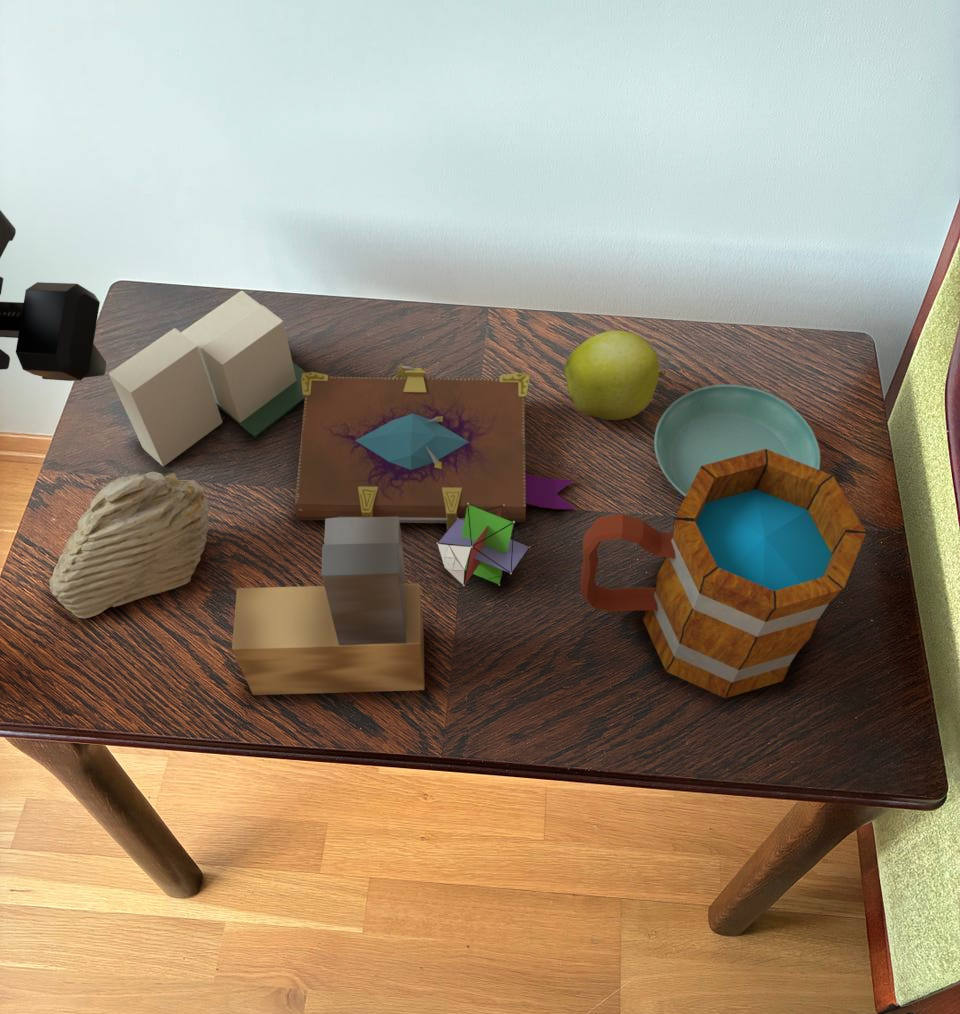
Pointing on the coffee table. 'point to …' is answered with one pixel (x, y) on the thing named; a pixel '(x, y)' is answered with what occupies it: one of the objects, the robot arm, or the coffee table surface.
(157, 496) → the fossil tooth
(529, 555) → the coffee table surface
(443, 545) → the geometric puzzle
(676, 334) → the coffee table surface
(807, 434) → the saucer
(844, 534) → the mug
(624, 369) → the apple
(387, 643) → the wood and grey block
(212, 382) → the cream and green block
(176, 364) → the cream rectangular block
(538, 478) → the book
